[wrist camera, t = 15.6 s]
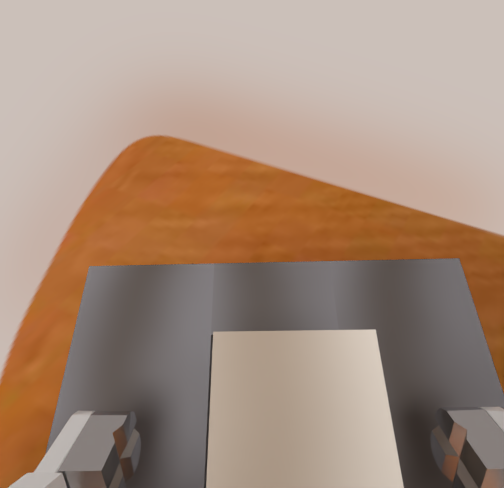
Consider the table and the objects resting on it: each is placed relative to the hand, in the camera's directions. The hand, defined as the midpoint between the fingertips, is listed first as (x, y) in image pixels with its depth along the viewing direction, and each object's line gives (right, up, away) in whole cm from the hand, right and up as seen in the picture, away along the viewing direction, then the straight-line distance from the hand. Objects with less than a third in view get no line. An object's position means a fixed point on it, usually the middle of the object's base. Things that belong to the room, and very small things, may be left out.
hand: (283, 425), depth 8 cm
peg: (0, -2, +5) cm, 5 cm away
